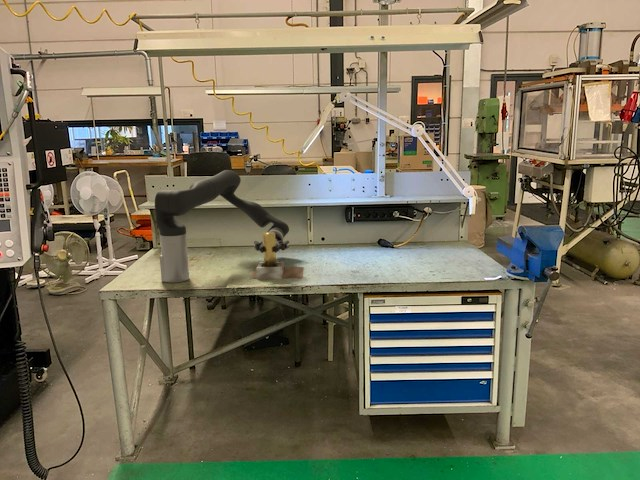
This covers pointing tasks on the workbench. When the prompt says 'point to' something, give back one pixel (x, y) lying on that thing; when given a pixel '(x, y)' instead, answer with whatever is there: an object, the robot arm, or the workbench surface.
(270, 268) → the socket block
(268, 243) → the golden metal peg
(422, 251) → the workbench surface
